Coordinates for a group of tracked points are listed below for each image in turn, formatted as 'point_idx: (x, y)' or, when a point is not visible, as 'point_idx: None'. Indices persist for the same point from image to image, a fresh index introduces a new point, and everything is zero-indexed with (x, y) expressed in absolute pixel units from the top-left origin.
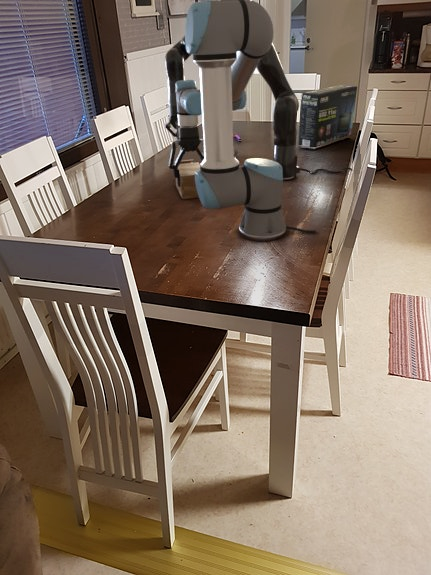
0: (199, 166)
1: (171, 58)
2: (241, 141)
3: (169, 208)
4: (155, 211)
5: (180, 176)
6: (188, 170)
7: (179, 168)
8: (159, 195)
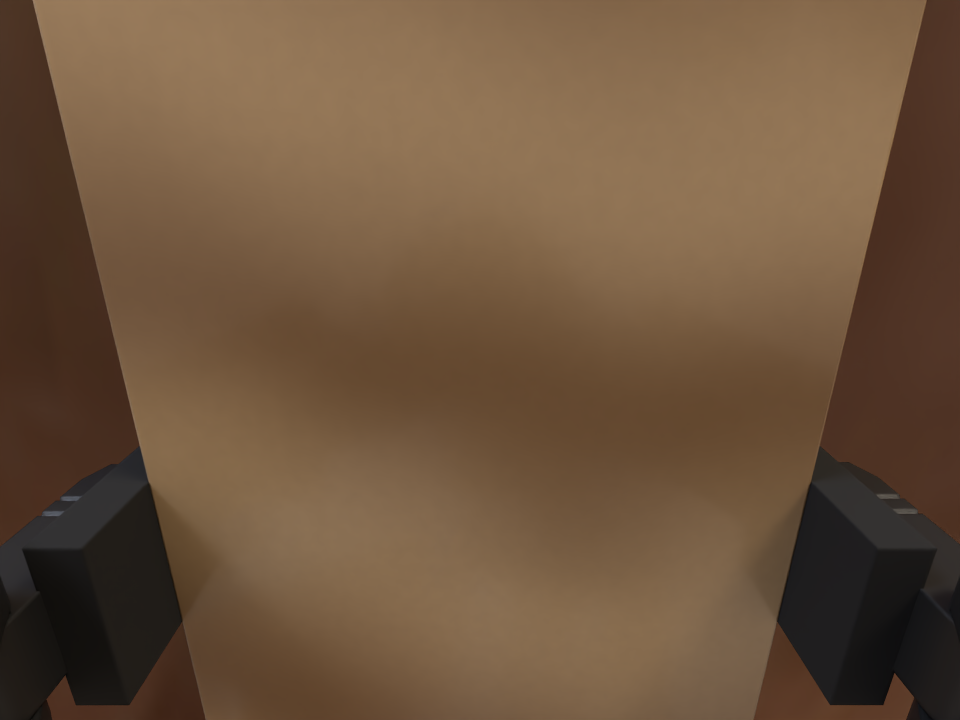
0: (832, 184)
1: None
2: None
3: (191, 660)
4: (61, 686)
5: (213, 714)
6: (422, 456)
7: (169, 181)
8: (34, 266)
